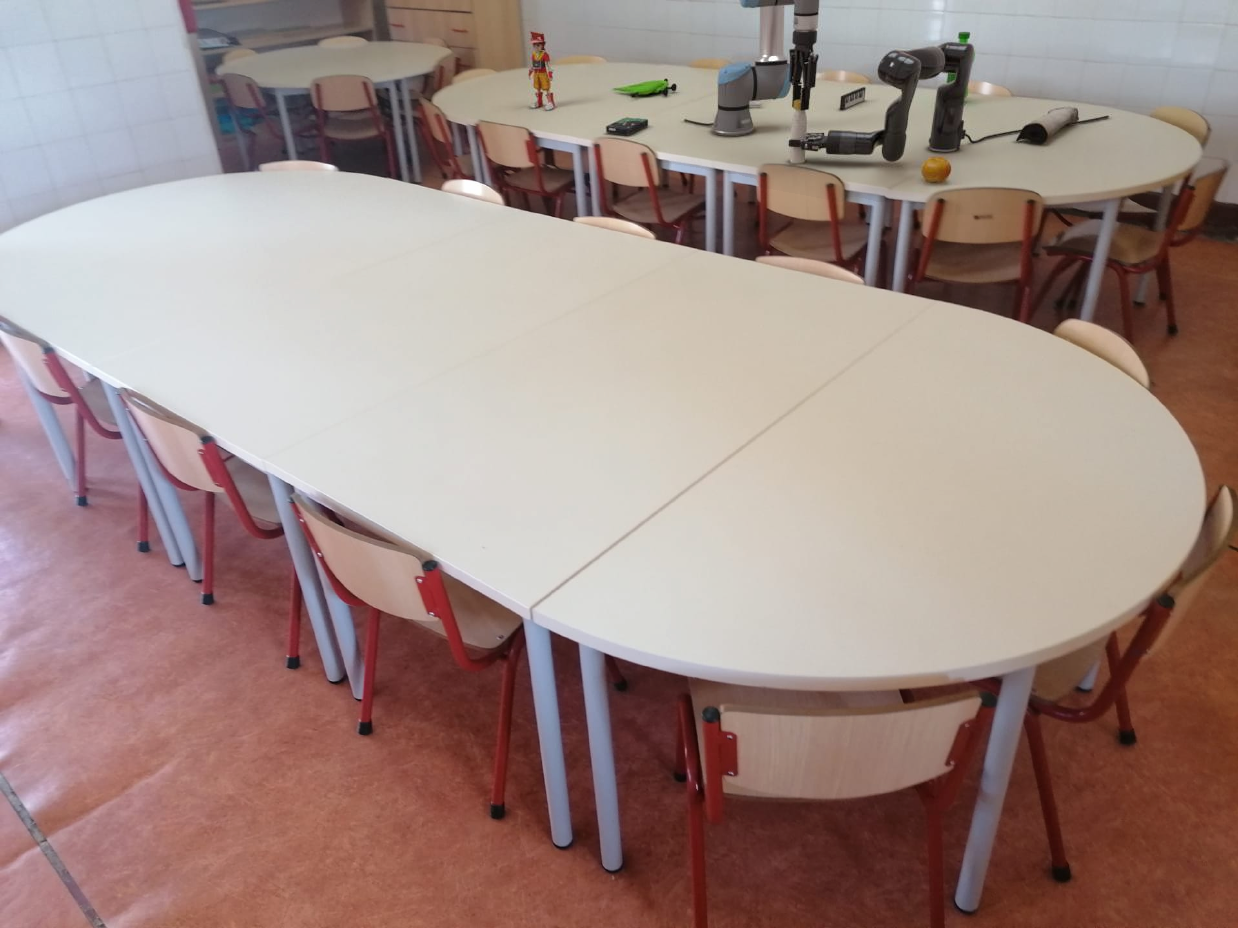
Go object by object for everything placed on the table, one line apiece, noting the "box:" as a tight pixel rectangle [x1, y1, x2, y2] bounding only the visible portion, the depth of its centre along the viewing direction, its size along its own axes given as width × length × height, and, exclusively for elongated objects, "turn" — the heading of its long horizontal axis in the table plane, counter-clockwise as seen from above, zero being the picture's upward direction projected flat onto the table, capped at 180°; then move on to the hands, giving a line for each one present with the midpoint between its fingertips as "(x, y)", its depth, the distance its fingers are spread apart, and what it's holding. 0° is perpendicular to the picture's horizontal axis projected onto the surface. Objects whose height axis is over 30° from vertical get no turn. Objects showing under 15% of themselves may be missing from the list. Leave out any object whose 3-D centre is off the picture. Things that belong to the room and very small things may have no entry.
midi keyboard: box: [839, 86, 867, 111], centre depth 358 cm, size 18×1×5 cm, turn 138°
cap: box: [792, 99, 801, 110], centre depth 291 cm, size 4×4×2 cm
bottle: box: [789, 109, 808, 164], centre depth 297 cm, size 5×5×19 cm
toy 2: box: [612, 78, 677, 99], centre depth 396 cm, size 28×5×30 cm
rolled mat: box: [1015, 106, 1080, 145], centre depth 311 cm, size 30×9×10 cm
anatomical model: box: [749, 100, 763, 109], centre depth 366 cm, size 15×10×10 cm
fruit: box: [921, 156, 952, 183], centre depth 276 cm, size 8×8×8 cm
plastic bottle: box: [946, 31, 976, 99], centre depth 348 cm, size 10×10×25 cm
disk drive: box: [605, 116, 649, 136], centre depth 345 cm, size 10×3×15 cm
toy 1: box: [527, 31, 556, 111], centre depth 374 cm, size 12×9×30 cm
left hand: (800, 108), depth 292 cm, fingers closed on cap, 4 cm apart
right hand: (790, 141), depth 299 cm, fingers closed on bottle, 5 cm apart
